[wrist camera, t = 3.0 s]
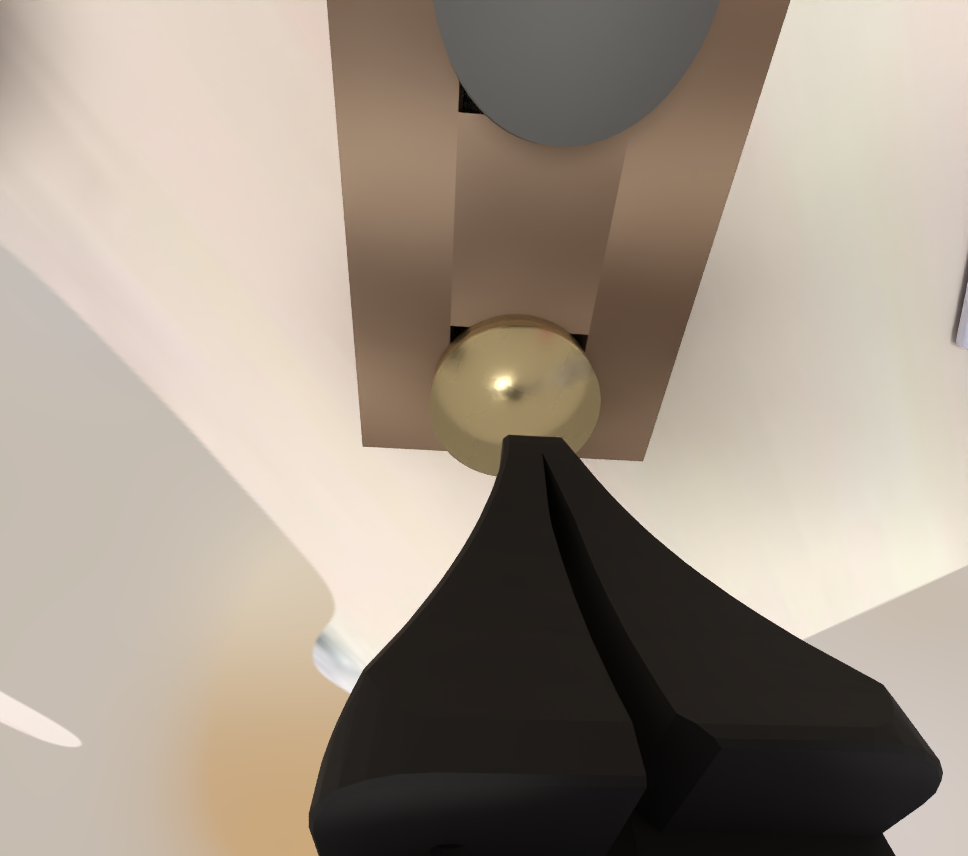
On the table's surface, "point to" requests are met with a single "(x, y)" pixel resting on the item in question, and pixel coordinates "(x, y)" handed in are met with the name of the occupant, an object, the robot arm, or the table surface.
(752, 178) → the table surface
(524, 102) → the middle black knob
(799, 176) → the table surface
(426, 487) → the table surface
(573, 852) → the robot arm
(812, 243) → the table surface
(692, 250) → the control panel
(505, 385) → the brass knob
